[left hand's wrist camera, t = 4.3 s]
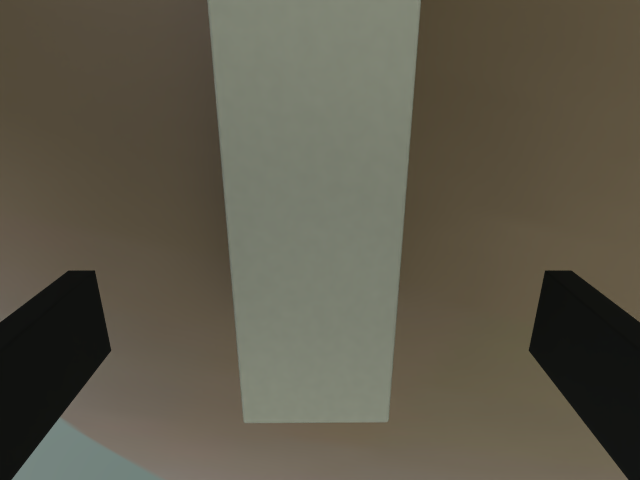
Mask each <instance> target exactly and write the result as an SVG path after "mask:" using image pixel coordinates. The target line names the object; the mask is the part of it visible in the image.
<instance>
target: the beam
mask: <svg viewBox="0 0 640 480" xmlns="http://www.w3.org/2000/svg"><path fill="white" fill-rule="evenodd" d="M207 3H208V14H209V26H210V38H211V49H212V61H213V72H214V84H215V96H216V107H217V119H218V131H219V142H220V154H221V166H222V177H223V189H224V201H225V212H226V224H227V236H228V247H229V259H230V271H231V282H232V294H233V306H234V317H235V329H236V340H237V352H238V364H239V375H240V387H241V399H242V410H243V421H244V423H334V422H388V420H389V408H390V395H391V382H392V369H393V357H394V344H395V331H396V318H397V305H398V292H399V279H400V266H401V253H402V240H403V227H404V214H405V201H406V188H407V175H408V162H409V149H410V136H411V123H412V110H413V97H414V84H415V71H416V58H417V45H418V32H419V19H420V6H421V0H207Z"/></svg>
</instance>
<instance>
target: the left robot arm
mask: <svg viewBox="0 0 640 480" xmlns="http://www.w3.org/2000/svg"><path fill="white" fill-rule="evenodd" d="M110 351H111V347H110V342H109V337H108V333H107V328H106V323H105V318H104V313H103V308H102V303H101V298H100V293H99V289H98V284H97V279H96V274H95V271H67V272H66V273H65V274H63V275H62V276H61V277H60V278H58V279H57V280H56V281H54V282H53V283H52V284H50V285H49V286H48V287H46V288H45V289H44V290H42V291H41V292H40V293H38V294H37V295H36V296H34V297H33V298H32V299H30V300H29V301H28V302H27V303H25V304H24V305H23V306H21V307H20V308H19V309H17V310H16V311H15V312H13V313H12V314H11V315H9V316H8V317H7V318H5V319H4V320H3V321H1V322H0V480H12V478H13V477H14V476H15V474H16V473H17V472H18V471H19V469H20V468H21V467H22V465H23V464H24V463H25V461H26V460H27V459H28V458H29V456H30V455H31V454H32V452H33V451H34V450H35V448H36V447H37V446H38V445H39V443H40V442H41V441H42V439H43V438H44V437H45V436H46V434H47V433H48V432H49V430H50V429H51V428H52V427H53V425H54V424H55V423H56V421H57V420H58V419H59V417H60V416H61V415H62V414H63V412H64V411H65V410H66V408H67V407H68V406H69V405H70V403H71V402H72V401H73V399H74V398H75V397H76V395H77V394H78V393H79V392H80V390H81V389H82V388H83V386H84V385H85V384H86V383H87V381H88V380H89V379H90V377H91V376H92V375H93V373H94V372H95V371H96V370H97V368H98V367H99V366H100V364H101V363H102V362H103V360H104V359H105V358H106V357H107V355H108V354H109V353H110ZM529 351H530V353H531V354H532V355H533V357H534V358H535V359H536V360H537V362H538V363H539V364H540V366H541V367H542V368H543V370H544V371H545V372H546V373H547V375H548V376H549V377H550V379H551V380H552V381H553V383H554V384H555V385H556V386H557V388H558V389H559V390H560V392H561V393H562V394H563V395H564V397H565V398H566V399H567V401H568V402H569V403H570V405H571V406H572V407H573V408H574V410H575V411H576V412H577V414H578V415H579V416H580V417H581V419H582V420H583V421H584V423H585V424H586V425H587V427H588V428H589V429H590V430H591V432H592V433H593V434H594V436H595V437H596V438H597V439H598V441H599V442H600V443H601V445H602V446H603V447H604V449H605V450H606V451H607V452H608V454H609V455H610V456H611V458H612V459H613V460H614V462H615V463H616V464H617V465H618V467H619V468H620V469H621V471H622V472H623V473H624V474H625V476H626V477H627V478H628V480H640V322H639V321H637V320H636V319H635V318H633V317H632V316H631V315H629V314H628V313H627V312H625V311H624V310H623V309H621V308H620V307H619V306H617V305H616V304H615V303H613V302H612V301H611V300H610V299H608V298H607V297H606V296H604V295H603V294H602V293H600V292H599V291H598V290H596V289H595V288H594V287H592V286H591V285H590V284H588V283H587V282H586V281H584V280H583V279H582V278H580V277H579V276H578V275H577V274H575V273H574V272H573V271H545V274H544V279H543V284H542V289H541V293H540V298H539V303H538V308H537V313H536V318H535V323H534V328H533V333H532V337H531V342H530V347H529Z"/></svg>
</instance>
